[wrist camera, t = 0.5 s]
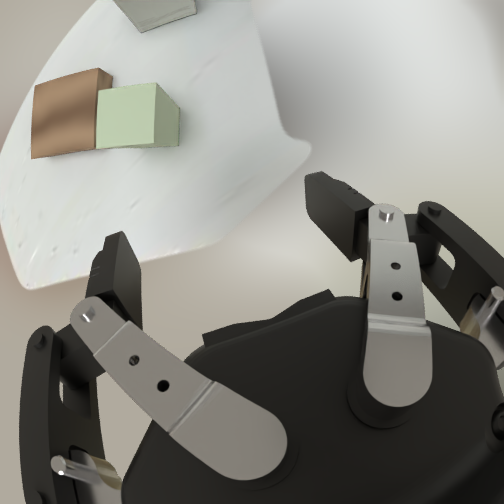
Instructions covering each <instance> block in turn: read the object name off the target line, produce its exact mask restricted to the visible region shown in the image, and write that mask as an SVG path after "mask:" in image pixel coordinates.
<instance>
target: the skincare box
mask: <svg viewBox="0 0 504 504" xmlns="http://www.w3.org/2000/svg"><path fill="white" fill-rule="evenodd" d="M113 1H114V2H115V3H116V4H117V6H118V7H119V8H120V9H121V10H122V11H123V13H124V14H125V15H126V16H127V17H128V18H129V19H130V21H131V22H132V23H133V24H134V25H135V26H136V28H137V29H138V30H139V31H140V32H141V33H142V32H145V31H147V30H150V29H152V28H155V27H158V26H160V25H163V24H166V23H169V22H171V21H174V20H177V19H180V18H183V17H186V16H190V15H193V14H196V13H197V10H196V6H195V1H194V0H113Z"/></svg>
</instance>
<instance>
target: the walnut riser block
mask: <svg viewBox="0 0 504 504" xmlns="http://www.w3.org/2000/svg"><path fill="white" fill-rule="evenodd" d="M112 79H113V76H111V75H109V74H108V73H106V72H105V71H103V70H102V69H100V68H95V69H90V70H86V71H82V72H78V73H74V74H71V75H67V76H64V77H60V78H57V79H54V80H50V81H47V82H44V83H41V84H39V85H36V86H35V89H34V98H33V110H32V127H31V159H36V158H43V157H51V156H56V155H61V154H67V153H73V152H79V151H86V150H93V149H96V127H97V105H98V92H99V90H105V89H111V88H112Z"/></svg>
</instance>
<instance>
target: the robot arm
mask: <svg viewBox="0 0 504 504" xmlns="http://www.w3.org/2000/svg"><path fill="white" fill-rule="evenodd" d="M305 194H306V195H305V196H306V209H307V213H308V215H309V217H310V219H311V220H312V221H313V222H314V223H315V224H316V225H317V226H318V227H319V228H320V229H321V230H322V231H323V233H324V234H325V235H326V236H327V237H328V238H329V239H330V240H331V241H332V242H333V243H334V244H335V245H336V246H337V248H338V249H339V250H340V251H341V252H342V253H343V254H344V255H345V256H346V257H347V258H348V260H349V261H350V262H352V261H355V260H357V259H360V258H361V259H362V260H363V263H362V273H361V286H360V297H353V296H342V297H334V296H333V294H332V293H331V291H330V290H329V289H327V290H325V291H323V292H320V293H317V294H315V295H312V296H310V297H307V298H305V299H302V300H300V301H298V302H296V303H295V304H293V305H292V306H290V307H289V308H287V309H286V310H284V311H283V312H281V313H280V314H278V315H277V316H275V317H273V318H271V319H267V320H260V321H253V322H245V323H237V324H232V325H229V326H226V327H224V328H220V329H217V330H214V331H211V332H208V333H205V334H202V337H203V341H204V345H202V346H201V347H199V348H198V349H196V350H195V351H194V352H192V353H191V354H190V355H189V356H188V357H187V358H186V359H185V360H184V361H181V360H180V359H179V358H177V357H176V356H175V355H173V354H172V353H170V352H169V351H167V350H166V349H165V348H164V347H162V346H161V345H160V344H158V343H157V342H156V341H155V340H153V339H152V338H151V337H149V336H148V335H147V334H146V333H144V332H143V326H142V302H141V269H140V265H139V262H138V260H137V258H136V256H135V254H134V252H133V250H132V248H131V246H130V244H129V242H128V240H127V237H126V235H125V234H124V232H123V231H120V232H117V233H115V234H112V235H109V236H107V237H106V238H105V242H104V246H103V250H102V251H99V252H98V254H97V255H96V257H95V258H94V260H93V262H92V267H91V271H90V278H89V280H88V285H87V290H86V296H85V299H84V300H83V301H81V302H80V303H78V305H76V307H75V308H74V309H73V311H72V313H71V316H70V324H69V325H67V326H66V327H64V328H63V329H61V330H60V331H58V332H57V333H55V331H54V330H53V329H52V328H51V327H49V326H42V327H40V328H38V329H37V330H36V331H35V332H34V333H33V334H32V335H31V337H30V339H29V341H28V344H27V349H26V356H25V362H24V369H23V377H22V386H21V398H20V416H19V418H20V419H19V445H20V464H21V474H22V483H23V490H24V497H25V501H26V504H504V396H503V393H502V391H501V387H500V384H499V380H498V375H497V370H499V369H501V368H502V367H504V258H503V257H502V256H501V255H500V254H499V253H498V252H497V251H496V250H495V249H494V248H493V247H492V246H490V245H489V244H488V243H487V242H486V241H485V240H484V239H483V238H482V237H480V236H479V235H478V234H477V233H476V232H475V231H474V230H472V229H471V228H470V227H469V226H468V225H466V224H465V223H464V222H463V221H462V220H460V219H459V218H458V217H457V216H455V215H454V214H453V213H452V212H450V211H449V210H448V209H446V208H445V207H444V206H442V205H440V204H438V203H435V202H430V201H425V202H422V203H420V204H419V207H418V212H417V214H403V212H402V211H401V210H400V209H399V208H397V207H395V206H392V205H389V204H376V205H375V204H374V203H373V202H371V201H370V200H369V199H367V198H366V197H365V196H363V195H362V194H360V193H358V191H356V190H355V189H352V187H351V186H349V185H347V184H346V183H345V182H342V181H339V180H336V179H333V178H331V177H330V176H328V175H327V174H325V173H324V172H322V171H321V172H317V173H312V174H308V175H306V176H305ZM441 245H443V246H444V247H445V248H447V250H448V251H450V252H451V253H452V255H453V256H454V259H455V267H454V270H452V268H451V267H450V266H449V265H448V264H447V263H446V262H445V261H444V260H443V259H442V258H441V257H440V256H439V255H438V254H439V251H440V248H441ZM422 282H423V283H424V285H425V286H426V287H427V288H428V289H429V290H430V292H431V293H432V294H433V295H434V296H435V297H436V299H437V300H438V301H439V302H440V303H441V305H442V306H443V307H444V308H445V310H446V311H447V312H448V313H449V315H450V316H451V317H452V318H453V320H454V321H455V322H456V324H457V325H458V326H459V328H460V332H459V331H456V330H453V329H451V328H448V327H445V326H442V325H439V324H436V323H433V322H430V321H428V320H426V319H425V307H424V298H423V289H422ZM104 372H107V373H108V374H109V375H110V376H111V377H112V378H113V379H114V380H115V382H116V383H117V384H118V385H119V386H120V387H121V388H122V389H123V390H124V391H125V392H126V393H127V394H128V395H129V397H131V398H132V400H133V401H134V402H135V403H136V404H137V405H139V406H140V407H141V408H142V409H143V410H144V411H145V412H146V413H147V414H148V415H149V416H150V417H151V418H152V421H151V423H150V425H149V427H148V430H147V431H146V433H145V436H144V437H143V440H142V441H141V444H140V445H139V448H138V450H137V452H136V454H135V456H134V458H133V460H132V462H131V464H130V466H129V468H128V470H127V472H126V474H125V476H124V479H123V481H122V480H121V478H120V477H119V476H118V474H117V472H116V470H115V468H114V467H113V466H112V465H111V464H110V463H109V462H108V461H106V459H105V454H104V449H103V442H102V435H101V428H100V419H99V409H98V399H97V383H96V377H98V376H99V375H101V374H103V373H104ZM60 382H62V383H63V402H62V401H61V398H60V394H59V384H60Z"/></svg>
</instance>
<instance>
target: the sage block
mask: <svg viewBox="0 0 504 504" xmlns="http://www.w3.org/2000/svg"><path fill="white" fill-rule="evenodd" d="M179 113H180V108H179V107H178V106H177V104H176V103H175V102H174V101H173V100H172V99H171V98H170V97H169V96H168V95H167V94H166V92H165V91H164V90H163V89H162V88H161V87H160V86H159V85H158V84H157V83H147V84H138V85H130V86H123V87H117V88H111V89H105V90H99V92H98V105H97V127H96V149H110V148H150V147H167V146H179Z"/></svg>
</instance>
